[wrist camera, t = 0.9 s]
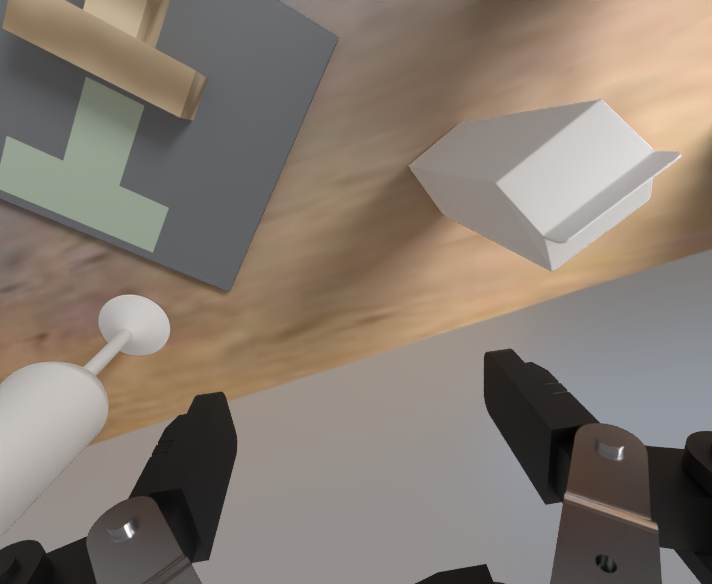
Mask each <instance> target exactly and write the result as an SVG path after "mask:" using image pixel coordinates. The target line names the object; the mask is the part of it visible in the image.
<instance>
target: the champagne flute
mask: <svg viewBox="0 0 712 584" xmlns="http://www.w3.org/2000/svg"><path fill="white" fill-rule="evenodd" d="M98 321H99V328H100V331H101V334H102V336H103V337H104V339H105V340H106V341H107V342H108V344H106V345H105V346H104V347H103V348H102V349H101V350H100V351H99V352H98V353H97V354H96V355H95V356H94V357H93V358H92V359H91V360H90V361H89V362H88V363H87V364H86V365H85V366H84V367H81V366H79V365H75V364H72V363H66V362H57V361H56V362H40V363H35V364H31V365H28V366H26V367H23V368H21V369H19V370H16V371H15V372H13V373H12V374H11V375H9V376H8V377H7V378H6V379H5V380H4V381H3V382H2V383H1V384H0V538H1V537H2V536H3V535H4V534H5V533H6V532H7V530H8V529H9V528H10V527H11V526H12V525H13V524H14V523H15V522H16V520H18V519H19V518H20V517H21V516H22V514H23V513H24V512H25V511H26V510H27V509H28V508H29V507H30V506H31V505H32V504H33V503H34V502H35V501H36V500H37V498H38V497H39V496H40V495H41V494H42V493H43V492H44V491H45V490H46V489H47V488H48V487H49V486H50V485H51V483H52V482H53V481H54V480H55V479H56V478H57V477H58V476H59V475H60V474H61V473H62V472H63V471H64V469H66V467H67V466H68V465H69V464H70V463H71V462H72V461H73V460H74V459H75V458H76V457H77V456H78V455H79V454H80V452H81V451H82V450H83V449H84V448H85V447H86V446H87V445H88V444H89V443H90V442H91V441H92V440H93V439H94V438H95V437H96V435H97V434H98V433H99V432H100V431H101V430H102V428H103V426H104V425H105V422H106V420H107V416H108V398H107V394H106V391H105V389H104V387H103V385H102V383H101V382H100V380H99V379H98V378H97V377H96V375H97V374H98V373H99V372H100V371H101V370H102V369H103V368H104V367H105V366H106V365H107V364H108V363H109V362H110V361H111V360H112V359H113V358H114V356H115V355H116V354H117V353H118V352H119V351H120V352H123V353H125V354H129V355H135V356H144V355H149V354H152V353H154V352H157V351H158V350H160V349H161V348H162V347H163V346H164V345H165V344H166V342H167V340H168V338H169V335H170V324H169V320H168V318H167V315H166V314H165V312H164V311H163V310H162V309H161V308H160V307H159V306H158V305H157V304H156V303H154V302H153V301H151V300H149V299H147V298H145V297H142V296H139V295H121V296H117V297H115V298H113V299H111V300H109V301H108V302H107V303H106V304H105V305H104V306H103V307H102V309H101V311H100V314H99V318H98Z"/></svg>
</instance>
